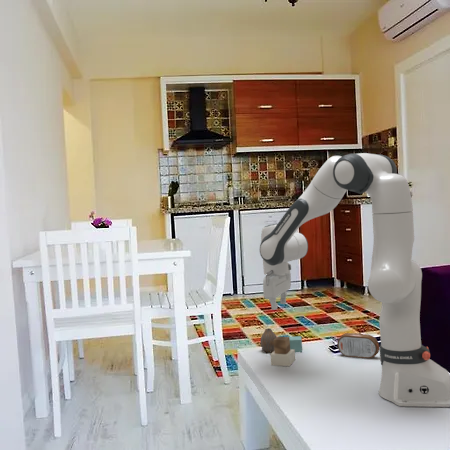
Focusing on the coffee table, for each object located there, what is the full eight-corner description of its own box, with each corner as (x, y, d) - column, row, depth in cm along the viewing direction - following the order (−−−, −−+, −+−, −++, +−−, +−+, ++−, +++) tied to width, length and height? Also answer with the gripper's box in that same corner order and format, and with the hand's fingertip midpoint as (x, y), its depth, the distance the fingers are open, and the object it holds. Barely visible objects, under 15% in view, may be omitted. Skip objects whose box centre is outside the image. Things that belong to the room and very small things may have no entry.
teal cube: (302, 348, 201) (301, 336, 201) (302, 352, 196) (300, 339, 196) (289, 349, 202) (288, 336, 202) (289, 353, 197) (287, 340, 197)
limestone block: (295, 360, 187) (294, 349, 187) (289, 366, 181) (288, 355, 181) (277, 359, 190) (276, 348, 190) (271, 365, 184) (270, 354, 184)
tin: (380, 357, 182) (378, 334, 182) (378, 360, 179) (376, 336, 179) (340, 354, 190) (338, 331, 190) (337, 356, 188) (335, 334, 187)
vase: (258, 350, 204) (256, 328, 204) (274, 347, 206) (272, 326, 206) (265, 354, 197) (263, 332, 197) (281, 351, 199) (279, 329, 199)
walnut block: (290, 350, 186) (289, 336, 186) (286, 354, 182) (285, 340, 182) (278, 349, 188) (277, 336, 188) (274, 353, 184) (273, 339, 184)
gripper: (274, 272, 174) (277, 313, 174) (292, 264, 192) (295, 300, 192) (257, 273, 176) (260, 312, 177) (276, 264, 195) (279, 300, 195)
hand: (279, 306), depth 185 cm, fingers open, 8 cm apart
